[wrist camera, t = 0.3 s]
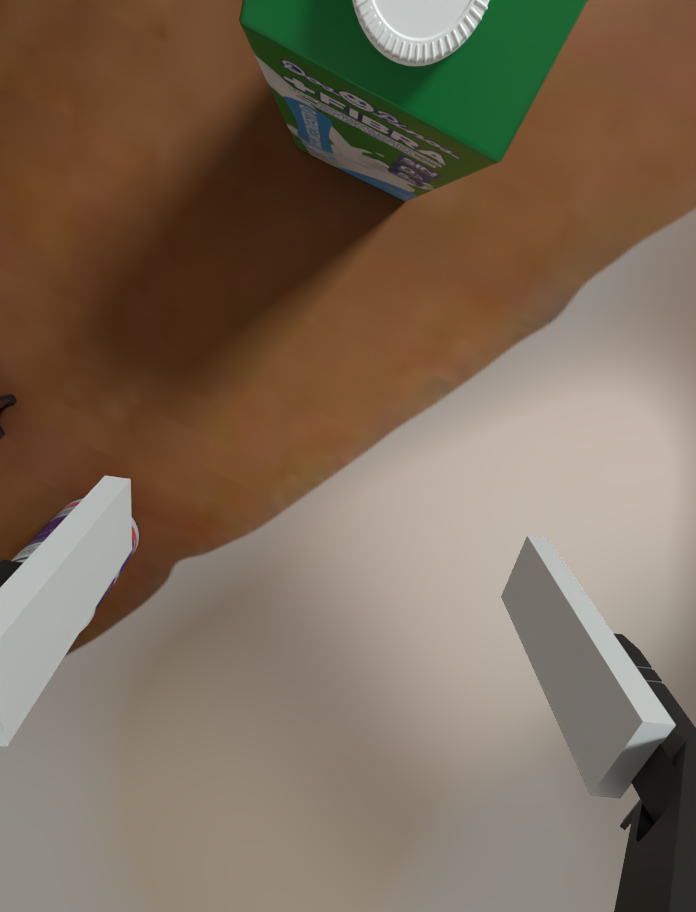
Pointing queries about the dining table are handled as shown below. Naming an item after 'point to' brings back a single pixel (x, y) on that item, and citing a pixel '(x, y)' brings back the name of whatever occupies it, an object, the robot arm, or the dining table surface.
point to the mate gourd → (4, 401)
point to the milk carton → (406, 80)
